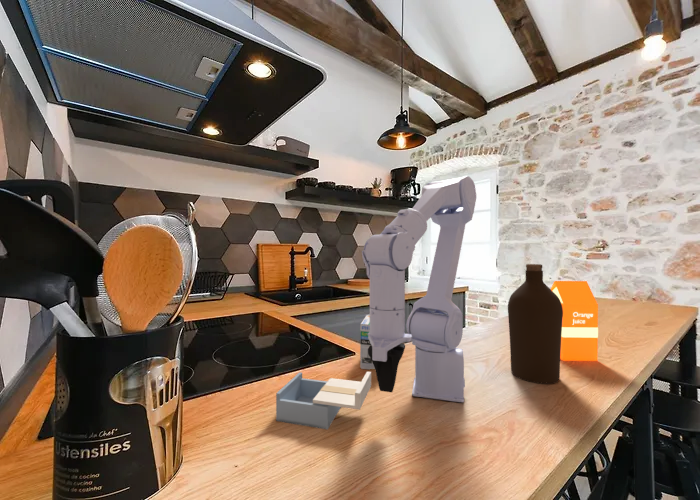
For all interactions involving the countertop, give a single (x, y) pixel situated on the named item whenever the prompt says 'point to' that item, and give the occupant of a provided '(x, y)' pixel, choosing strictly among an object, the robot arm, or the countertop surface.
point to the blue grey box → (303, 404)
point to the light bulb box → (365, 344)
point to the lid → (344, 392)
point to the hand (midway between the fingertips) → (386, 389)
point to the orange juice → (578, 321)
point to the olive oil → (535, 329)
